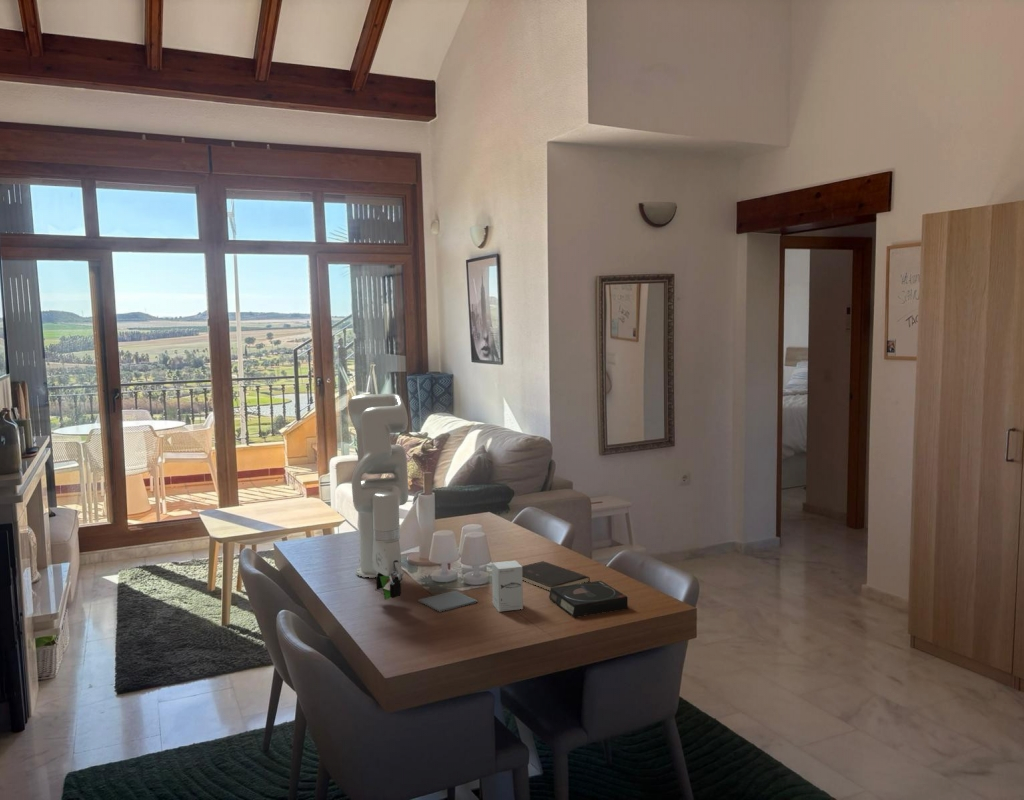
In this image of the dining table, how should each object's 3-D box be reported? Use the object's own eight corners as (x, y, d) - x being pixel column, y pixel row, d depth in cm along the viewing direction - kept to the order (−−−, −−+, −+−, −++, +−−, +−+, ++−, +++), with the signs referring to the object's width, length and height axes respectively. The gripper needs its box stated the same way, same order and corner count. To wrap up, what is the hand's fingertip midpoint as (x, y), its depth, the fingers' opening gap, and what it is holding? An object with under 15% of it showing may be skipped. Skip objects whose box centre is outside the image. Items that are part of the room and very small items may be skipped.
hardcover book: (550, 593, 242) (550, 586, 242) (506, 576, 260) (506, 569, 260) (590, 583, 251) (589, 576, 251) (544, 567, 270) (544, 560, 270)
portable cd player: (549, 601, 235) (548, 588, 234) (601, 593, 241) (600, 580, 240) (572, 619, 219) (572, 605, 219) (627, 610, 225) (627, 596, 225)
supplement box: (498, 612, 225) (497, 568, 224) (492, 604, 232) (491, 561, 231) (523, 609, 227) (522, 566, 226) (516, 601, 234) (515, 559, 233)
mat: (418, 601, 236) (418, 599, 236) (455, 592, 244) (455, 590, 243) (439, 612, 226) (439, 610, 226) (477, 602, 234) (477, 600, 234)
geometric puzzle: (368, 588, 234) (377, 571, 230) (387, 582, 239) (396, 565, 235) (380, 607, 231) (389, 590, 227) (399, 601, 235) (408, 584, 231)
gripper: (361, 530, 236) (363, 587, 238) (389, 543, 222) (391, 604, 224) (384, 525, 240) (386, 582, 242) (412, 538, 226) (414, 598, 228)
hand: (388, 592), depth 233 cm, fingers closed on geometric puzzle, 8 cm apart
